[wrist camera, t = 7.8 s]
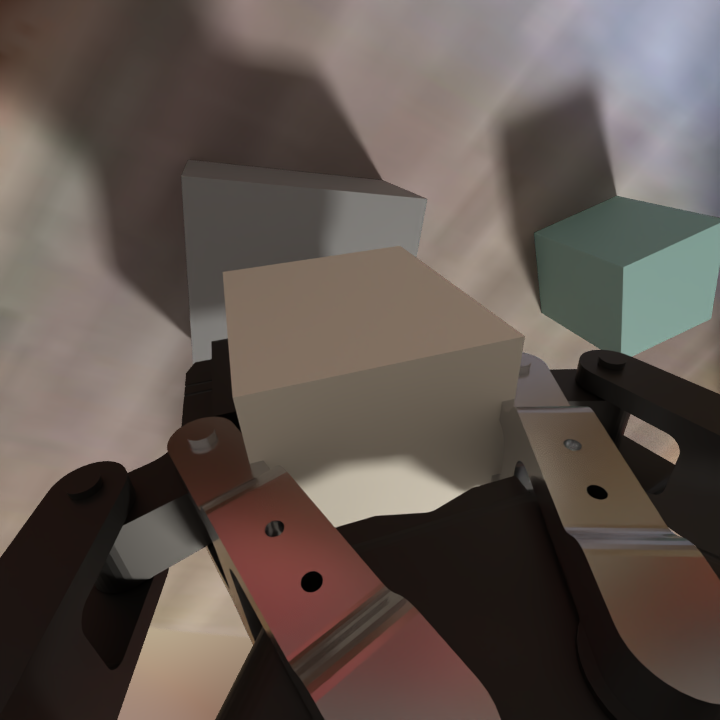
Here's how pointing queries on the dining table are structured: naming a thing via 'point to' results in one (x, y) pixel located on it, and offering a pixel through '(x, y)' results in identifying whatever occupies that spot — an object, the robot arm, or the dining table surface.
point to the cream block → (369, 380)
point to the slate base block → (279, 227)
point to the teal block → (629, 273)
